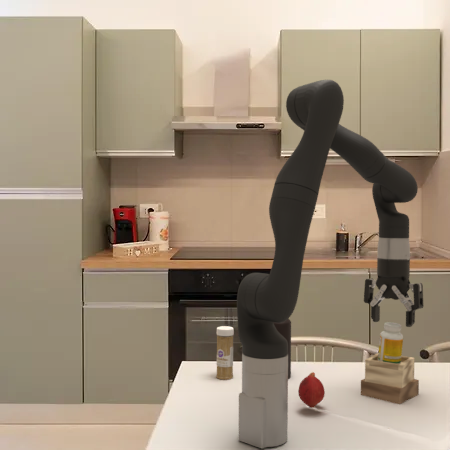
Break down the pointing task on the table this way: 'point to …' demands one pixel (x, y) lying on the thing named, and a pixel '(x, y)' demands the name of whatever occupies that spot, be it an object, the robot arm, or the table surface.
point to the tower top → (389, 371)
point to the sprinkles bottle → (225, 352)
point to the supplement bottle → (390, 343)
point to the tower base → (390, 391)
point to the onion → (311, 390)
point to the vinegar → (285, 331)
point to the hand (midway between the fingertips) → (392, 324)
